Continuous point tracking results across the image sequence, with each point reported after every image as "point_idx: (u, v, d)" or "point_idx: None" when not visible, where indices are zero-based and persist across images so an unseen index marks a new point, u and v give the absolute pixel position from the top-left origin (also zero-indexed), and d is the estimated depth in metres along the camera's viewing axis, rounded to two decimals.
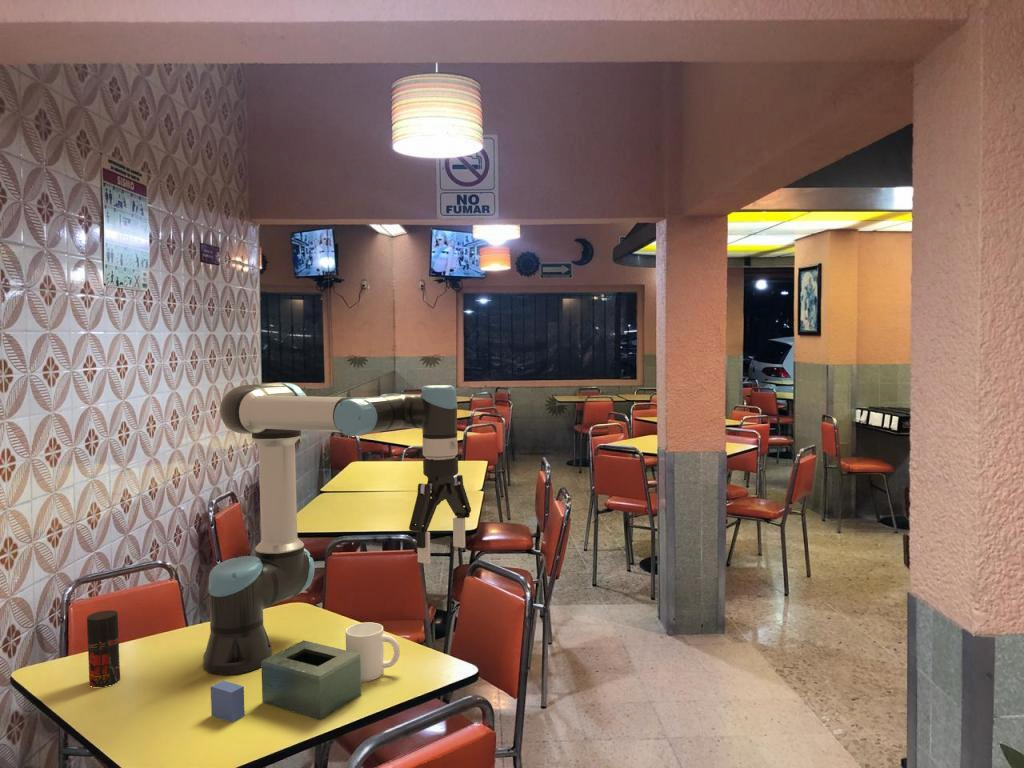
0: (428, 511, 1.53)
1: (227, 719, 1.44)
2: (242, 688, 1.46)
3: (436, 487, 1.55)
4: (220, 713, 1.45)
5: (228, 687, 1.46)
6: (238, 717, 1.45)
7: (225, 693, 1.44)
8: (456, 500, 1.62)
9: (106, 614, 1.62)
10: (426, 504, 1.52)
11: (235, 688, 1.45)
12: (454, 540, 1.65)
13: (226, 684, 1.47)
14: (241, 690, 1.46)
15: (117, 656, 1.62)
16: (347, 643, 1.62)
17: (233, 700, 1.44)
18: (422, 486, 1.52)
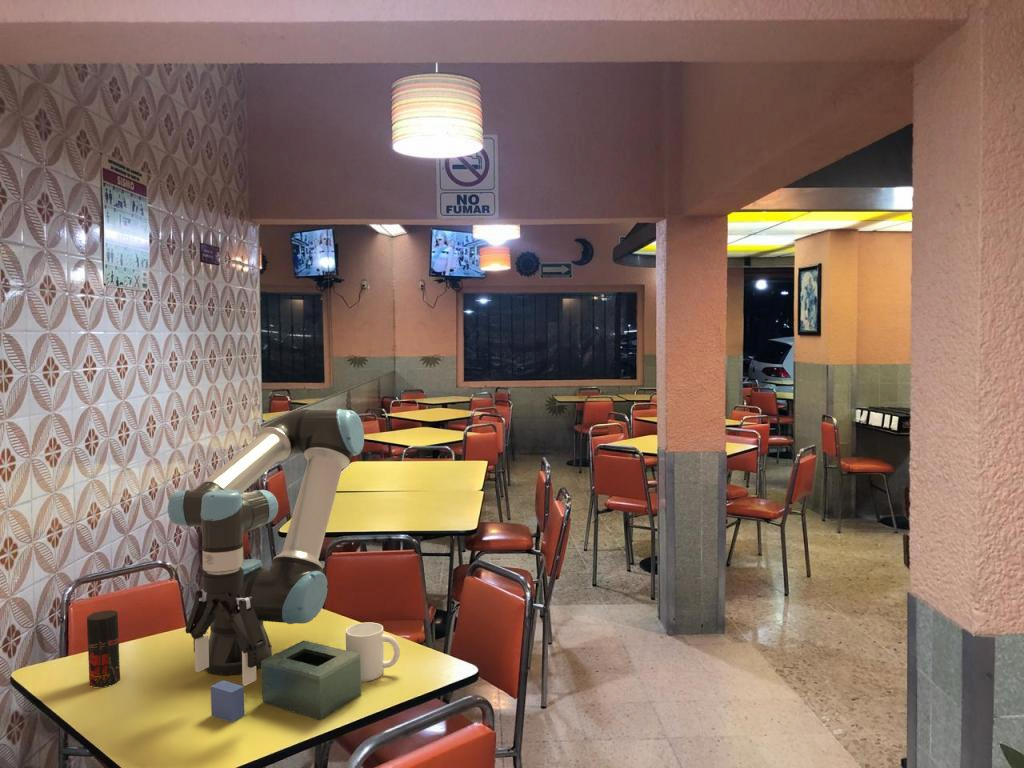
0: None
1: (227, 719, 1.44)
2: (242, 688, 1.46)
3: (207, 598, 1.46)
4: (220, 713, 1.45)
5: (228, 687, 1.46)
6: (238, 717, 1.45)
7: (225, 693, 1.44)
8: (233, 625, 1.42)
9: (106, 614, 1.62)
10: (194, 610, 1.48)
11: (235, 688, 1.45)
12: None
13: (226, 684, 1.47)
14: (241, 690, 1.46)
15: (117, 656, 1.62)
16: (347, 643, 1.62)
17: (233, 700, 1.44)
18: None
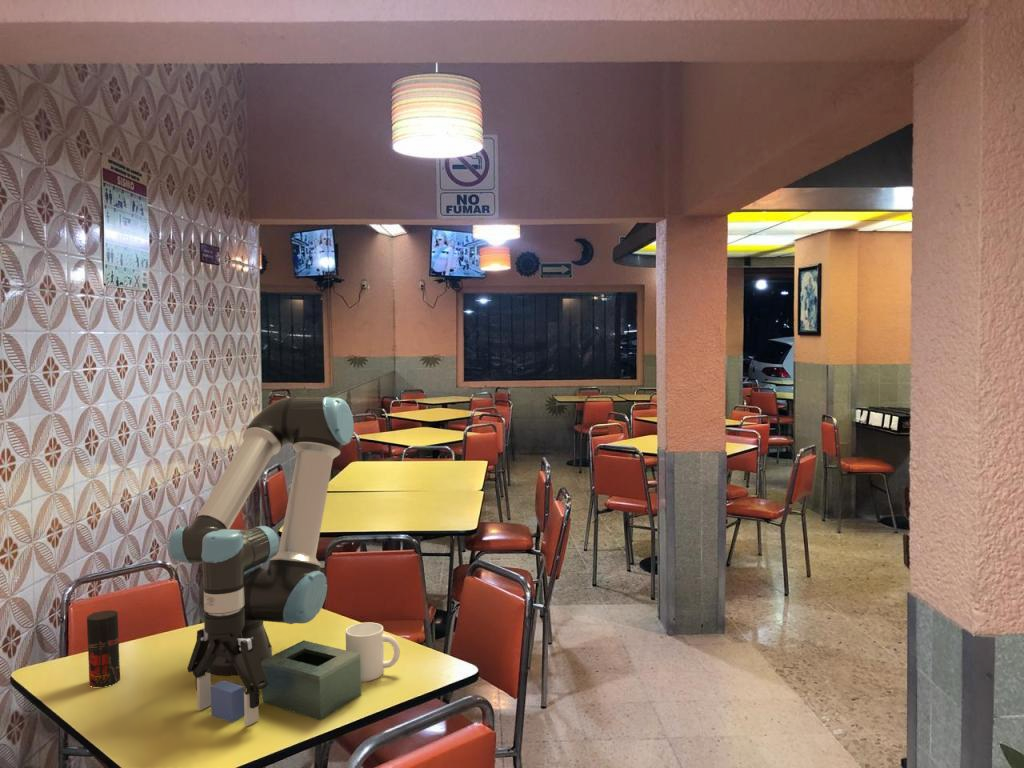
0: None
1: (227, 719, 1.44)
2: (242, 688, 1.46)
3: (209, 638, 1.46)
4: (220, 713, 1.45)
5: (228, 687, 1.46)
6: (238, 717, 1.45)
7: (225, 693, 1.44)
8: (235, 666, 1.43)
9: (106, 614, 1.62)
10: (196, 649, 1.48)
11: (235, 688, 1.45)
12: None
13: (226, 684, 1.47)
14: (241, 690, 1.46)
15: (117, 656, 1.62)
16: (347, 643, 1.62)
17: (233, 700, 1.44)
18: None
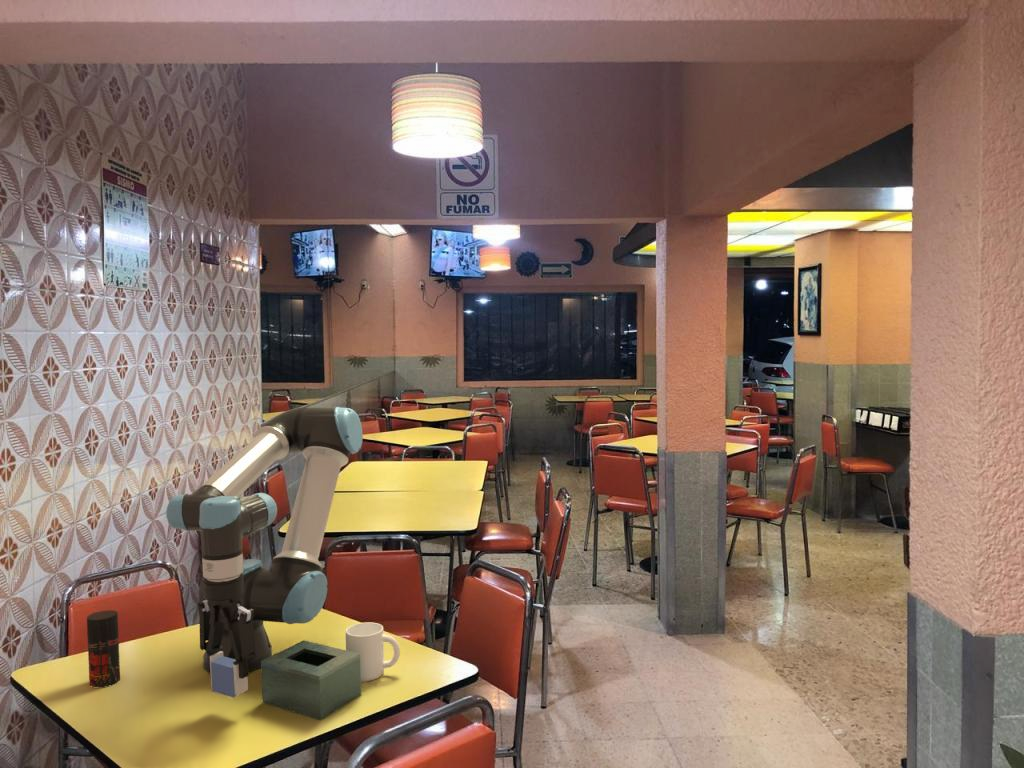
0: None
1: (228, 694, 1.45)
2: None
3: (209, 604, 1.46)
4: (221, 688, 1.46)
5: (228, 662, 1.46)
6: None
7: (226, 669, 1.44)
8: (230, 634, 1.44)
9: (106, 614, 1.62)
10: (201, 623, 1.48)
11: None
12: None
13: (226, 660, 1.47)
14: None
15: (117, 656, 1.62)
16: (347, 643, 1.62)
17: (233, 675, 1.44)
18: None
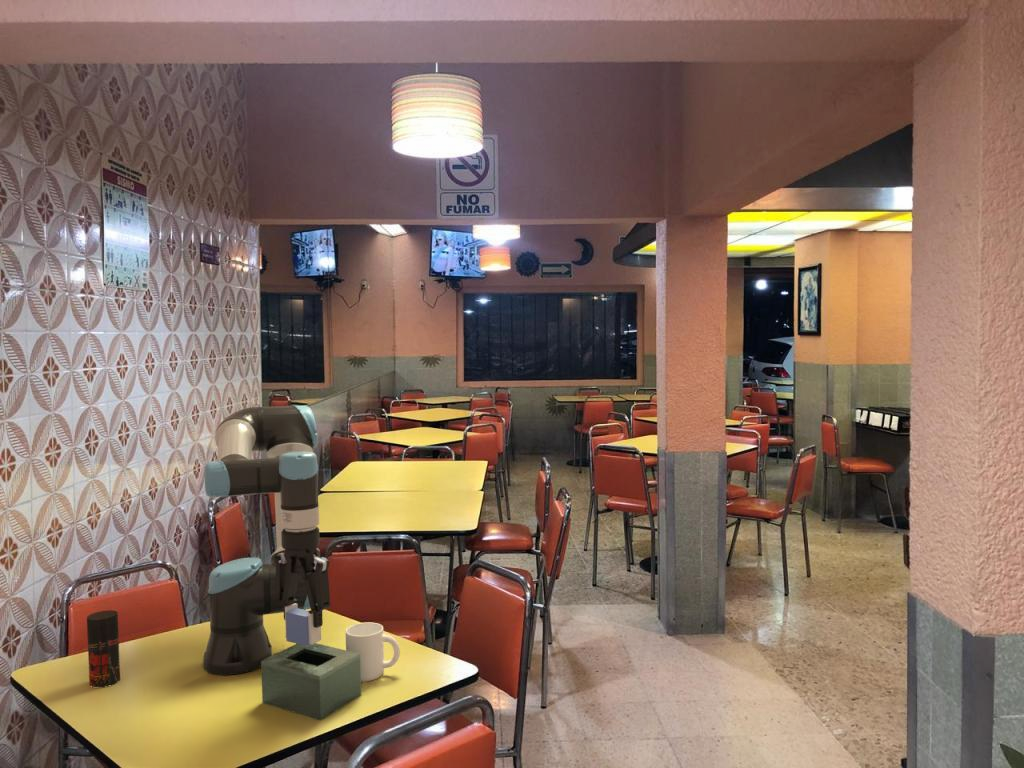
0: None
1: (302, 643, 1.49)
2: None
3: (286, 556, 1.52)
4: (295, 638, 1.50)
5: (302, 613, 1.51)
6: None
7: (300, 618, 1.49)
8: (305, 583, 1.49)
9: (106, 614, 1.62)
10: (277, 574, 1.53)
11: None
12: None
13: (300, 611, 1.52)
14: None
15: (117, 656, 1.62)
16: (347, 643, 1.62)
17: None
18: None
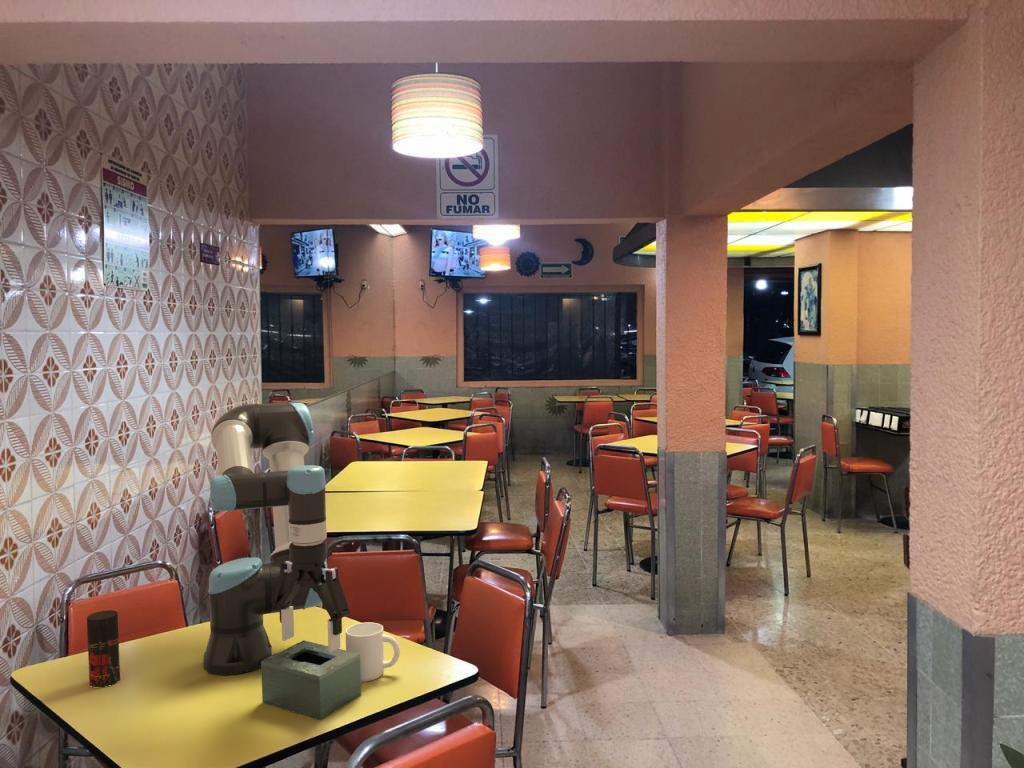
0: None
1: None
2: None
3: (293, 569, 1.52)
4: None
5: None
6: None
7: None
8: (319, 594, 1.49)
9: (106, 614, 1.62)
10: (279, 581, 1.54)
11: None
12: None
13: None
14: None
15: (117, 656, 1.62)
16: (347, 643, 1.62)
17: None
18: None
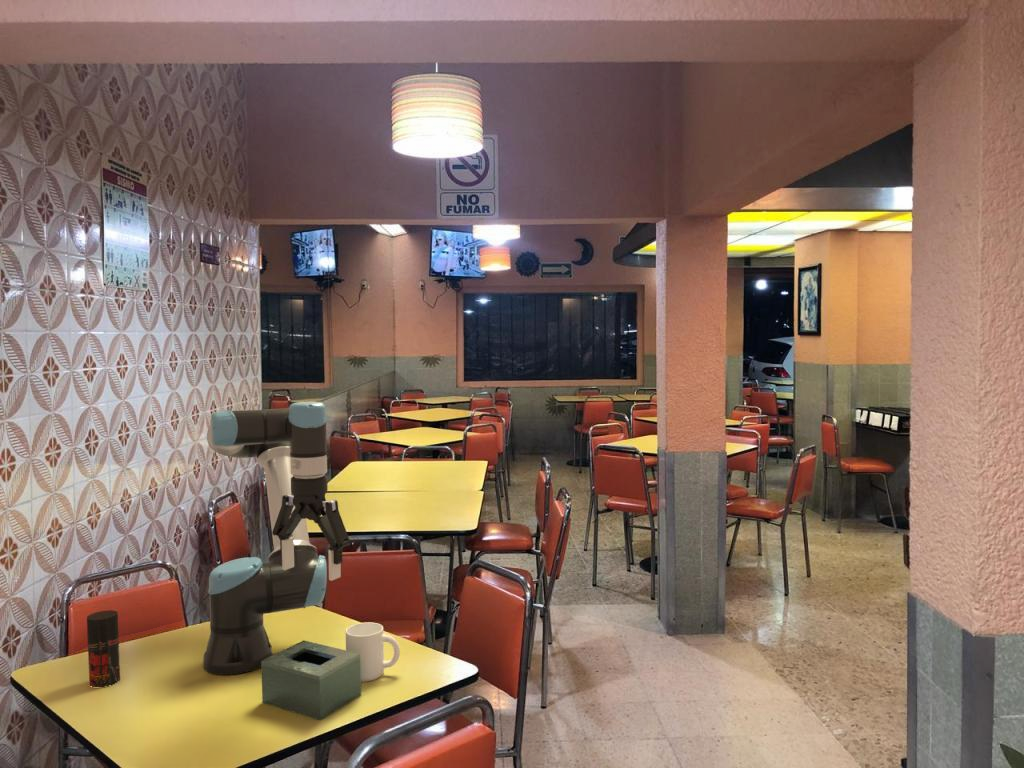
0: None
1: None
2: None
3: (294, 502, 1.57)
4: None
5: None
6: None
7: None
8: (320, 526, 1.53)
9: (106, 614, 1.62)
10: (281, 513, 1.59)
11: None
12: None
13: None
14: None
15: (117, 656, 1.62)
16: (347, 643, 1.62)
17: None
18: None
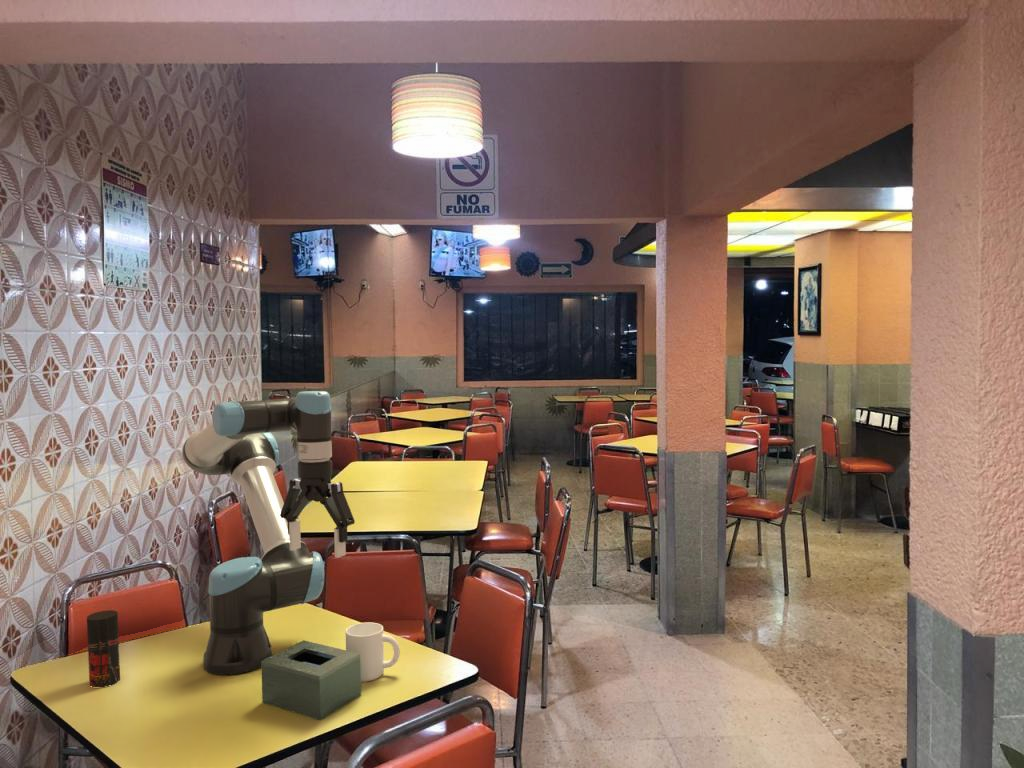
0: None
1: None
2: None
3: (301, 485, 1.67)
4: None
5: None
6: None
7: None
8: (326, 506, 1.63)
9: (106, 614, 1.62)
10: (288, 496, 1.69)
11: None
12: None
13: None
14: None
15: (117, 656, 1.62)
16: (347, 643, 1.62)
17: None
18: None
